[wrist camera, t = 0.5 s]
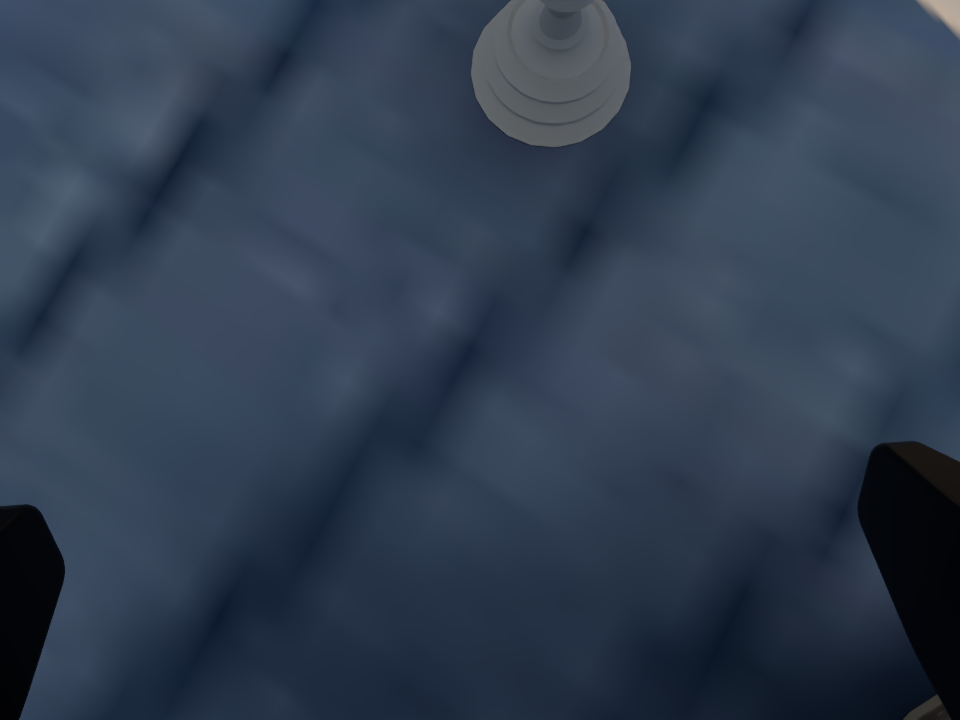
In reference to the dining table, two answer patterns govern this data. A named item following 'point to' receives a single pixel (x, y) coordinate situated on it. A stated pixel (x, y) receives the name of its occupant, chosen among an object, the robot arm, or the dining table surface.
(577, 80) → the chalice
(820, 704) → the dining table surface
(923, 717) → the ceramic vessel
